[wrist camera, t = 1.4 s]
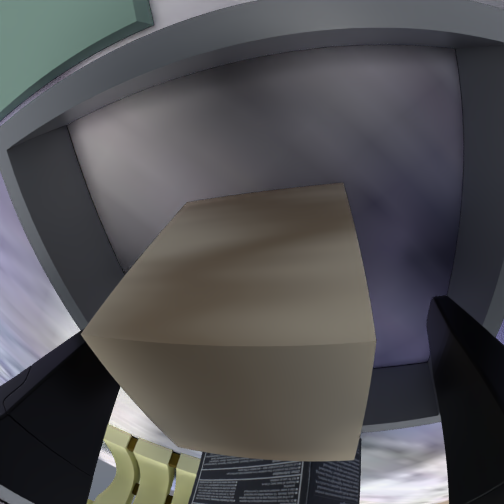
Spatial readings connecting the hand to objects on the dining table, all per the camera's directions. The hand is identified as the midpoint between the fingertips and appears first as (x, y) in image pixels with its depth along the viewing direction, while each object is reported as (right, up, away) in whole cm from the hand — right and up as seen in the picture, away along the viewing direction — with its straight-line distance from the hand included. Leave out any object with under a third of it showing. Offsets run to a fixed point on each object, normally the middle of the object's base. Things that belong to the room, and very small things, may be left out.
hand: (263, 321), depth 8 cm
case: (0, +2, +2) cm, 3 cm away
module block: (0, +2, +3) cm, 3 cm away
